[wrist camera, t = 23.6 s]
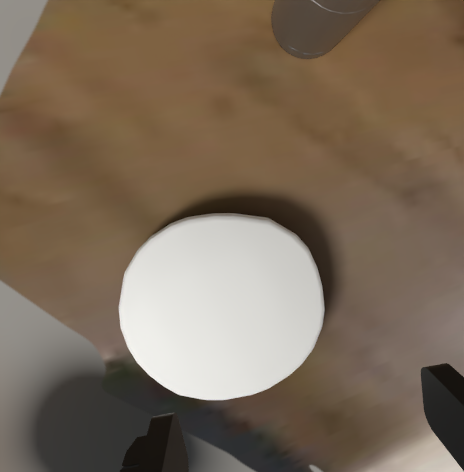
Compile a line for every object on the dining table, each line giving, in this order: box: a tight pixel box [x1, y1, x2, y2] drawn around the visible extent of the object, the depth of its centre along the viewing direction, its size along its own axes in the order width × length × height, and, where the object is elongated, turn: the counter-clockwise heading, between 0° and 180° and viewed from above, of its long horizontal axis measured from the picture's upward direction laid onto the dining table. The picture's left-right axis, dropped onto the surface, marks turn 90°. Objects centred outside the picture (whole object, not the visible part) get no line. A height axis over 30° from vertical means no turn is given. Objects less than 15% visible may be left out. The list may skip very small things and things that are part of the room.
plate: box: [119, 213, 325, 400], centre depth 48 cm, size 28×6×27 cm
